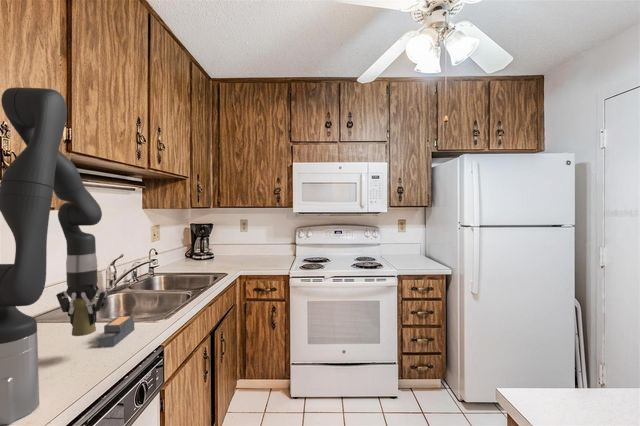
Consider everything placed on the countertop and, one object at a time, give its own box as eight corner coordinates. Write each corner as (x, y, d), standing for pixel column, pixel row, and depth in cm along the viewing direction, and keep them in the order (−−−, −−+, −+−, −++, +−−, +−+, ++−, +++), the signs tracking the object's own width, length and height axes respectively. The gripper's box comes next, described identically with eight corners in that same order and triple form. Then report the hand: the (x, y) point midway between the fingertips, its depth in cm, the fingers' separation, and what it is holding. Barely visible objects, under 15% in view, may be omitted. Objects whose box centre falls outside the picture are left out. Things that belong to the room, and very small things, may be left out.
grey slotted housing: (114, 346, 107) (113, 329, 107) (97, 347, 107) (97, 330, 106) (134, 329, 121) (134, 315, 121) (120, 330, 121) (119, 315, 120)
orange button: (118, 330, 111) (118, 324, 111) (107, 331, 111) (107, 325, 111) (130, 322, 119) (130, 316, 119) (119, 322, 119) (119, 316, 119)
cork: (98, 331, 100) (97, 295, 99) (74, 338, 95) (73, 300, 95) (93, 326, 104) (92, 292, 103) (69, 332, 99) (68, 296, 99)
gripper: (47, 271, 94) (49, 330, 95) (99, 270, 96) (101, 329, 96) (65, 266, 102) (67, 321, 102) (113, 265, 103) (115, 319, 104)
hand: (83, 324), depth 99 cm, fingers closed on cork, 4 cm apart
